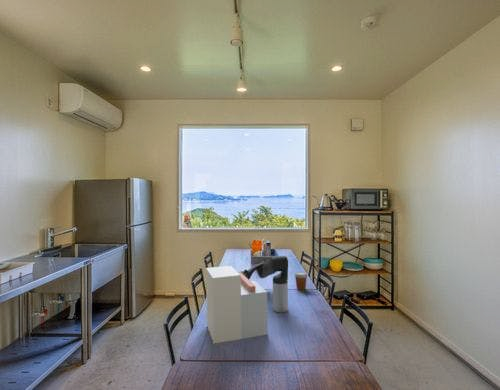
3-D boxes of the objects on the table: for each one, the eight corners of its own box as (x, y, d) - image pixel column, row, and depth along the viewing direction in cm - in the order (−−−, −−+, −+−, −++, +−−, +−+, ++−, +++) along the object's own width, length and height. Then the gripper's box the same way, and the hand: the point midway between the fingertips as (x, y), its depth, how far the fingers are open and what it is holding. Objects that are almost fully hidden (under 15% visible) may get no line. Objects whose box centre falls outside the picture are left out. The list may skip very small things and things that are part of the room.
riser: (206, 326, 160) (206, 267, 160) (255, 318, 169) (254, 263, 169) (213, 343, 141) (212, 278, 141) (267, 334, 150) (266, 272, 150)
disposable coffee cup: (299, 286, 226) (299, 270, 226) (310, 289, 219) (309, 273, 219) (292, 289, 219) (291, 273, 219) (302, 292, 212) (302, 275, 212)
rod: (235, 277, 176) (235, 272, 176) (240, 277, 177) (240, 272, 177) (249, 292, 149) (249, 286, 149) (255, 291, 150) (255, 286, 150)
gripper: (221, 274, 187) (226, 266, 173) (243, 272, 191) (249, 264, 178) (223, 286, 183) (228, 279, 170) (245, 283, 188) (251, 276, 174)
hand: (239, 271), depth 174 cm, fingers open, 8 cm apart
